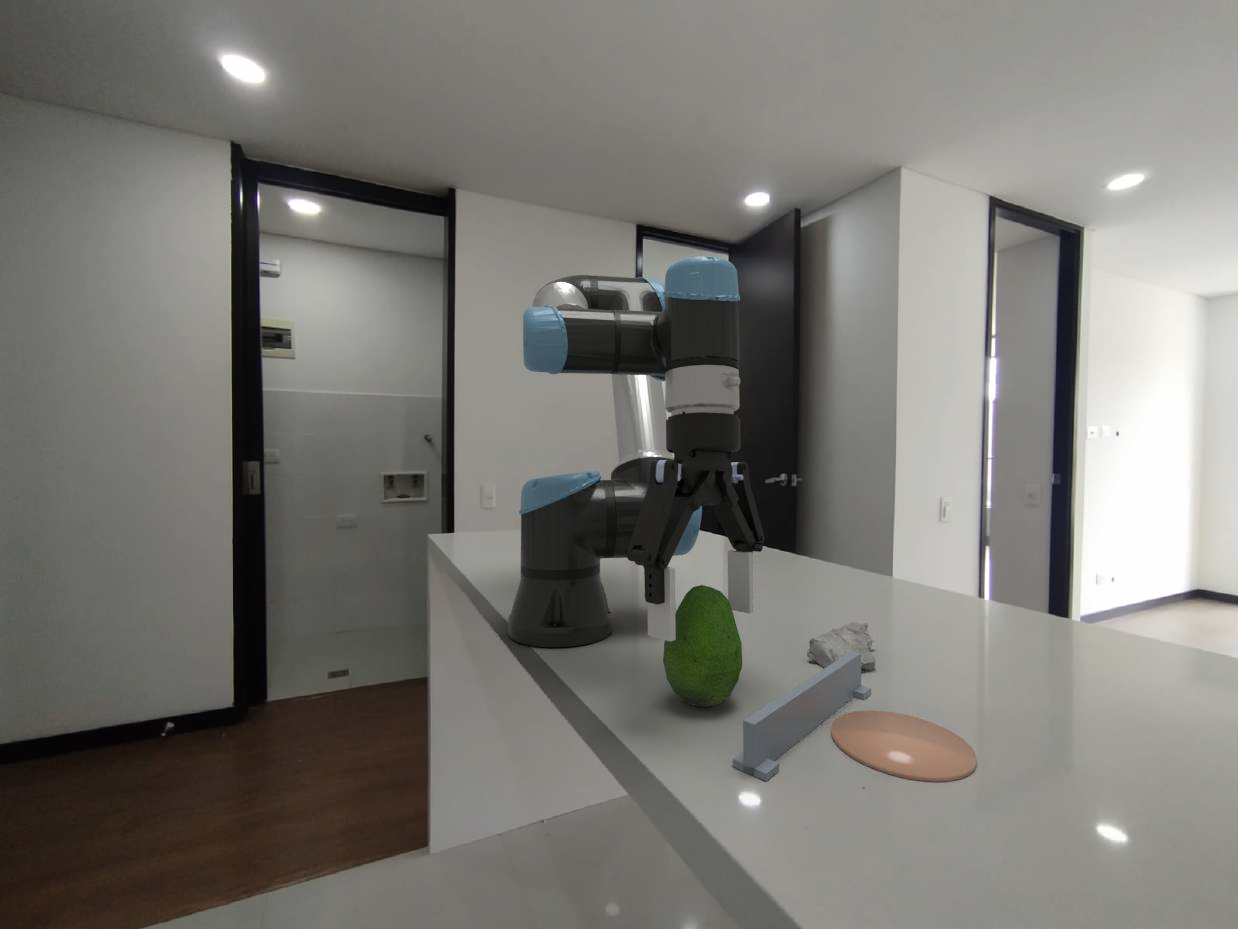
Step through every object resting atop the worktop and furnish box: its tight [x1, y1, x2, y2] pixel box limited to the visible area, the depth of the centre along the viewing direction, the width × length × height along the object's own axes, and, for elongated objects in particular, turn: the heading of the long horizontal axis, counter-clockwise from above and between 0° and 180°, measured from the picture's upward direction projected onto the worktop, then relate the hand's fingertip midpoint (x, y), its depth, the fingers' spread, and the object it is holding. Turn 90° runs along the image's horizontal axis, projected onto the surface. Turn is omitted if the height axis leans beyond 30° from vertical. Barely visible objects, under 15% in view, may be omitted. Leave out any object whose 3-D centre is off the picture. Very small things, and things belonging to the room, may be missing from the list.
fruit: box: [662, 584, 743, 708], centre depth 54 cm, size 8×8×12 cm
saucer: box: [830, 710, 977, 783], centre depth 46 cm, size 11×11×1 cm
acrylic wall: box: [731, 651, 872, 782], centre depth 50 cm, size 3×22×4 cm, turn 136°
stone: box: [806, 621, 877, 671], centre depth 66 cm, size 6×12×4 cm, turn 122°
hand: (704, 623), depth 54 cm, fingers open, 13 cm apart
